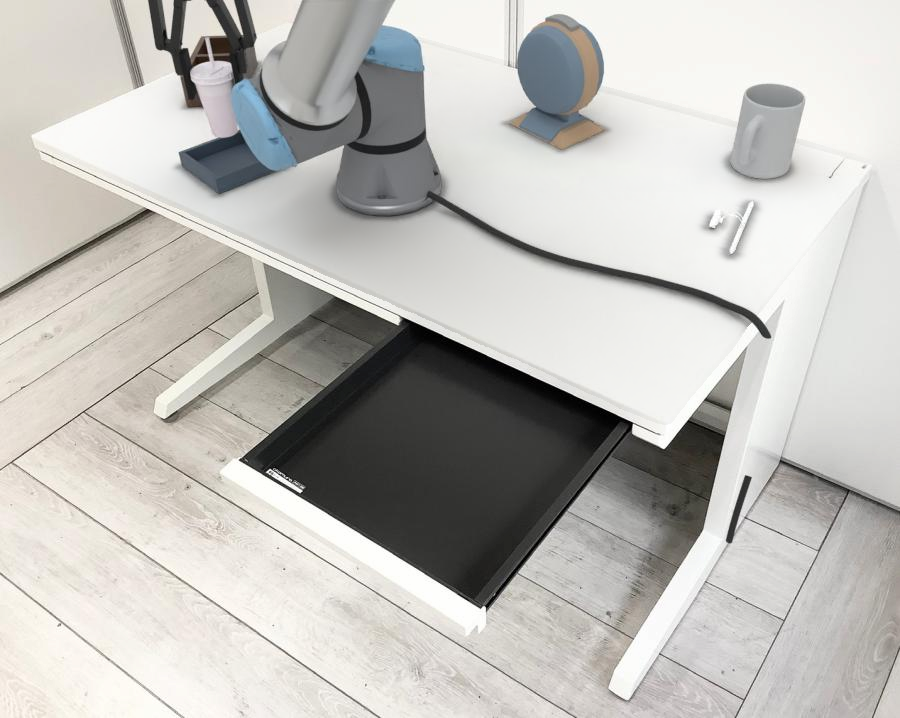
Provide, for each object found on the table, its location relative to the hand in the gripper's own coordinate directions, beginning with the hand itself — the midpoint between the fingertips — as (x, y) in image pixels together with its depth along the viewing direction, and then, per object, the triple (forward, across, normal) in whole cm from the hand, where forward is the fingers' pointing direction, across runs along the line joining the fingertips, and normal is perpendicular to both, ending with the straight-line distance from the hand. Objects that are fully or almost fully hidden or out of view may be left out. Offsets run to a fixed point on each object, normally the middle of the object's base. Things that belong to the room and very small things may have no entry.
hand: (217, 94), depth 129 cm
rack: (+12, +7, -31) cm, 34 cm away
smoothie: (+6, 0, 0) cm, 6 cm away
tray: (+12, 0, 0) cm, 12 cm away
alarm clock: (+12, -51, -10) cm, 53 cm away
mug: (+12, -79, +6) cm, 80 cm away
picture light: (+12, -71, +21) cm, 75 cm away
